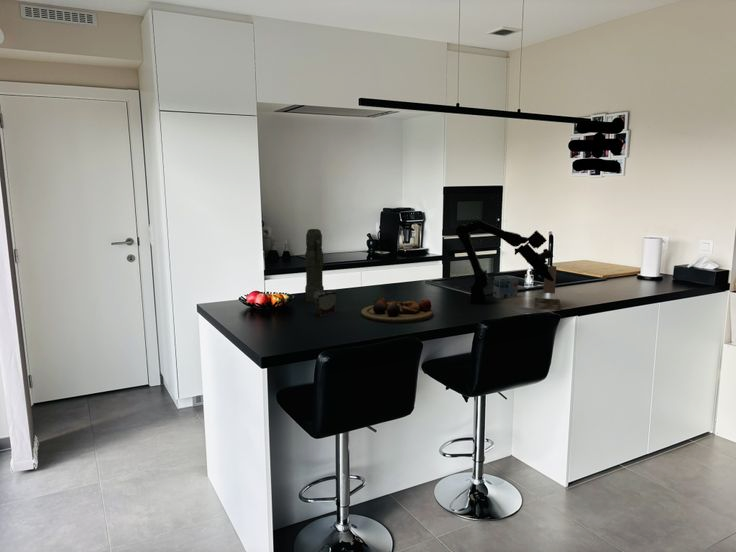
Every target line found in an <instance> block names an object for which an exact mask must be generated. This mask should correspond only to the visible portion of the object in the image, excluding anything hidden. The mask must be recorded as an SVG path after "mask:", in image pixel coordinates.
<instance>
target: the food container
mask: <svg viewBox="0 0 736 552" xmlns="http://www.w3.org/2000/svg"><path fill="white" fill-rule="evenodd" d="M337 296H338V291H337V289H324V290H319V291H316V292H315V293H314V298H315V301H316V303H315V309H316V310H315V311H316V316H318V317H323V316H327V315H330V314H334V313H336V305H337Z"/></svg>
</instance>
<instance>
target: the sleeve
mask: <svg viewBox="0 0 736 552" xmlns="http://www.w3.org/2000/svg"><path fill="white" fill-rule="evenodd" d="M534 309H536V310H547V311H549V310H550V311H561V300H560V299H559V298H558V299H557V298H545V297H544V298H543V297H541V298H540V297H535V298H534Z"/></svg>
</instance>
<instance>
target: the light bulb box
mask: <svg viewBox="0 0 736 552" xmlns="http://www.w3.org/2000/svg"><path fill="white" fill-rule="evenodd" d="M493 277H494V278H493V290H492V291H493V295H492V296H493V298H496V299H498V300H505V299H507V298H518V294H519V293H518V291H519V290H518V289H519V277H517V276H515V275H494V276H493Z"/></svg>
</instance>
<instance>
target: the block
mask: <svg viewBox="0 0 736 552" xmlns="http://www.w3.org/2000/svg"><path fill="white" fill-rule="evenodd" d="M548 271H549V273H550V275H551V276H552V278H553V279H554V281H550V280H548V279H546V278H544V279H543V292H542V293H543V294H556V282H557V281H556V280H557V266H555V265H553V266H551V265H548Z"/></svg>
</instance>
